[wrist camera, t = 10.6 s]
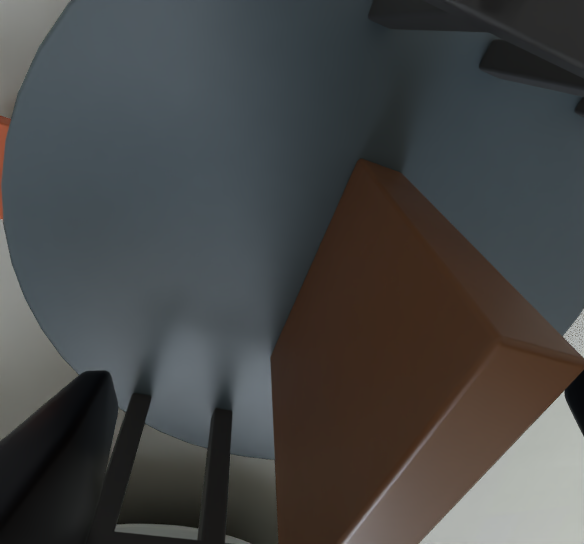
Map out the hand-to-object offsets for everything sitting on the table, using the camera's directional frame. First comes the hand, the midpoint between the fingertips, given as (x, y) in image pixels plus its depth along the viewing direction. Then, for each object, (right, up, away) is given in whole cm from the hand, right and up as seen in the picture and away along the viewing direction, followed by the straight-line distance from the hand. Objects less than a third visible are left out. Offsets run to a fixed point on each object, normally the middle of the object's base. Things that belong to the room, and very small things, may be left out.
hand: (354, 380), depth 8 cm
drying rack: (-1, +3, +4) cm, 5 cm away
